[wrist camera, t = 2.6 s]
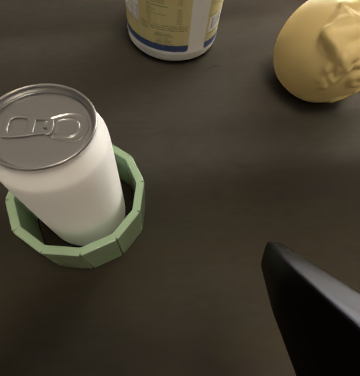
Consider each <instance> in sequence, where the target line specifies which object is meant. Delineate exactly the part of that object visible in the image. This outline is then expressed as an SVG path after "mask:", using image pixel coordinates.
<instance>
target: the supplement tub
mask: <svg viewBox="0 0 360 376" xmlns="http://www.w3.org/2000/svg"><path fill="white" fill-rule="evenodd" d="M125 3H126V14H127V27H128V31H129V35H130V38H131V40H132V41H133V43H134V44H135V45H136V46H137V47H138V48H139V49H140V50H142V51H143V52H145V53H146V54H148V55H150V56H153V57H155V58H158V59H162V60H169V61H181V60H188V59H192V58H195V57H198V56H200V55H201V54H203V53H204V52H206V51H207V50H208V49H209V48H210V46H211V45H212V43H213V41H214V39H215V37H216V31H217V27H218V22H219V17H220V13H221V8H222V3H223V0H125Z"/></svg>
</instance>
